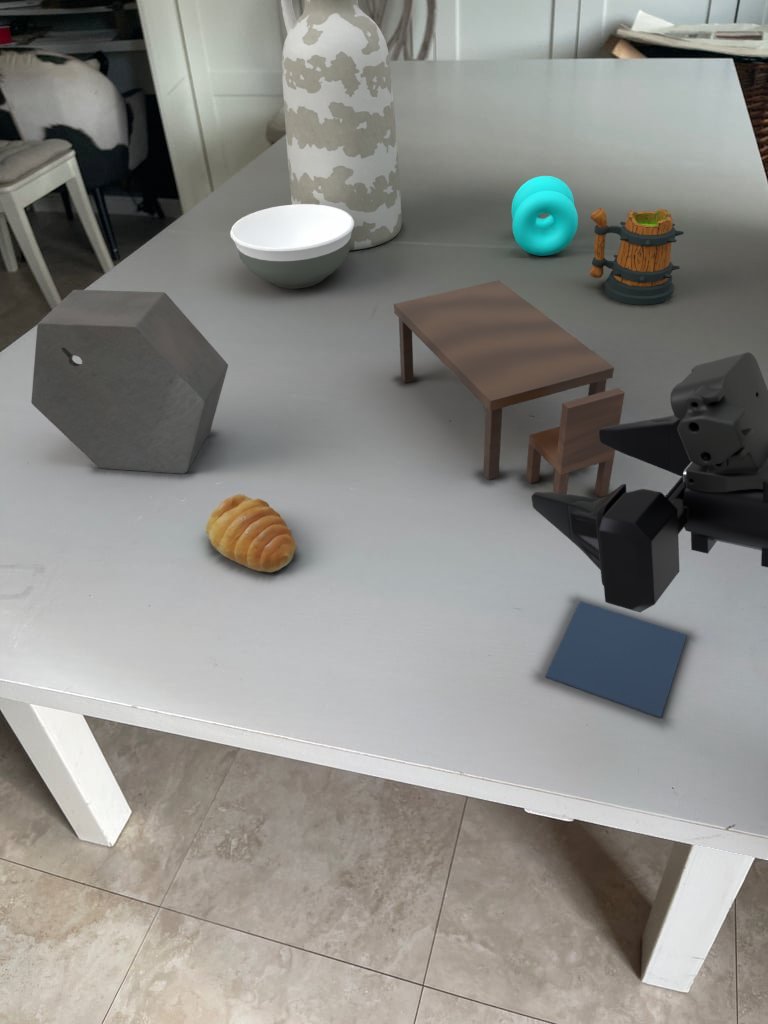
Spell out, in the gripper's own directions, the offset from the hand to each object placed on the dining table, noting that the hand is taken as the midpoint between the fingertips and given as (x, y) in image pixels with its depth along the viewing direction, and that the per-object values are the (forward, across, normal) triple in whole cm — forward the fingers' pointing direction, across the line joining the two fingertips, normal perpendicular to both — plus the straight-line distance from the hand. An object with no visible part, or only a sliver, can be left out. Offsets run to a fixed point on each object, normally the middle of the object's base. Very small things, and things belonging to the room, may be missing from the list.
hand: (568, 465), depth 55 cm
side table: (+26, -27, +13) cm, 40 cm away
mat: (-1, -2, +19) cm, 19 cm away
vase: (+78, -61, +1) cm, 99 cm away
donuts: (+46, -73, +8) cm, 87 cm away
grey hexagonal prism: (+53, +2, +7) cm, 53 cm away
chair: (+13, -19, +16) cm, 28 cm away
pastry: (+32, +6, +12) cm, 35 cm away
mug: (+28, -65, +12) cm, 72 cm away
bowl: (+71, -42, +3) cm, 83 cm away
